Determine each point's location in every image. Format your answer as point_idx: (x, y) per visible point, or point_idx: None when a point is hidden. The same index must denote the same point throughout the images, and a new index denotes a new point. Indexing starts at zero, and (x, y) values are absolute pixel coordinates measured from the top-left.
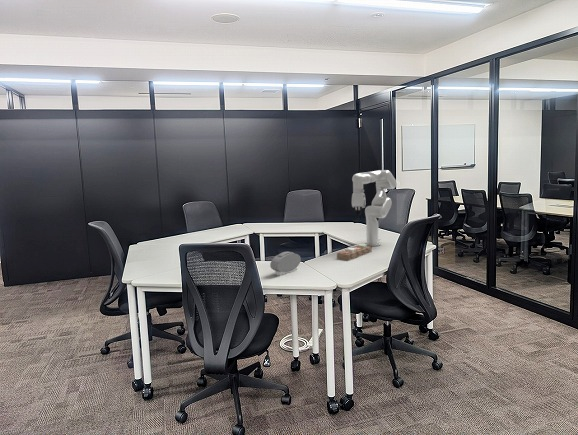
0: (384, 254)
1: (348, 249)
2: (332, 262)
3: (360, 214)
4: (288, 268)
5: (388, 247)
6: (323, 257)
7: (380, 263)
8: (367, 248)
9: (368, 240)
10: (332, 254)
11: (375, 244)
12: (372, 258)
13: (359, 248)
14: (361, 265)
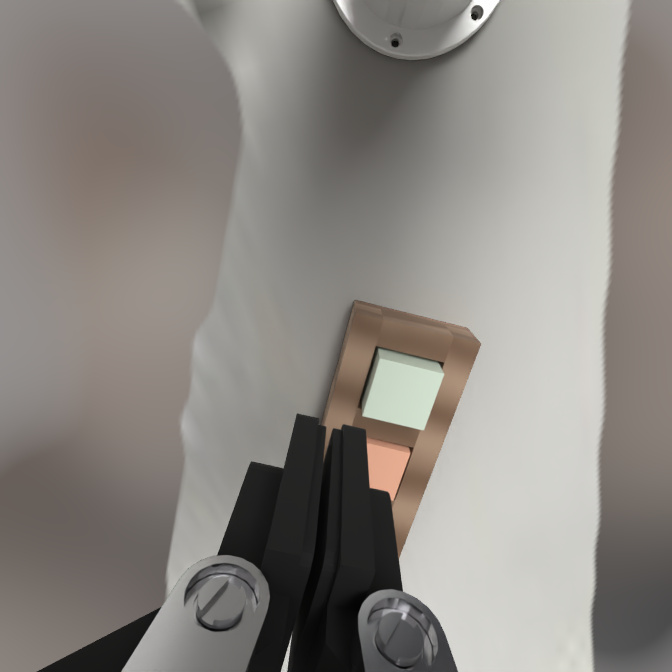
0: (584, 391)
1: None
2: (288, 652)
3: (365, 436)
4: None
5: (615, 76)
6: (183, 570)
7: (569, 614)
8: (453, 410)
9: (388, 3)
10: (199, 486)
11: (470, 27)
12: (506, 522)
13: (397, 471)
14: (465, 669)
